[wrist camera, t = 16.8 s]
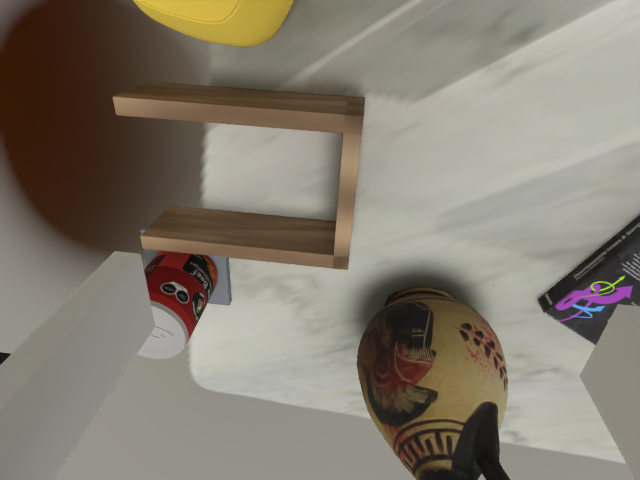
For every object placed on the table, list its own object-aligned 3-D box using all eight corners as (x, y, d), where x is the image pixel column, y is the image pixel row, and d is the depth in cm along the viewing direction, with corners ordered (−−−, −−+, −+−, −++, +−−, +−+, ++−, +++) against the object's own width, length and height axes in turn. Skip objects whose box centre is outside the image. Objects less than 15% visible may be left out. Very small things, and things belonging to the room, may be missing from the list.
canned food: (224, 295, 52) (192, 362, 43) (163, 293, 53) (119, 358, 44) (214, 243, 48) (176, 304, 39) (148, 241, 49) (96, 301, 40)
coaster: (144, 225, 50) (140, 229, 49) (226, 233, 49) (224, 238, 48) (157, 292, 55) (153, 297, 54) (231, 300, 54) (229, 305, 53)
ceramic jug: (387, 373, 58) (398, 677, 32) (339, 290, 51) (305, 586, 26) (514, 341, 52) (650, 675, 27) (479, 244, 46) (612, 559, 20)
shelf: (151, 81, 41) (112, 96, 35) (365, 97, 39) (363, 116, 33) (171, 217, 49) (142, 248, 43) (351, 234, 47) (347, 269, 41)
